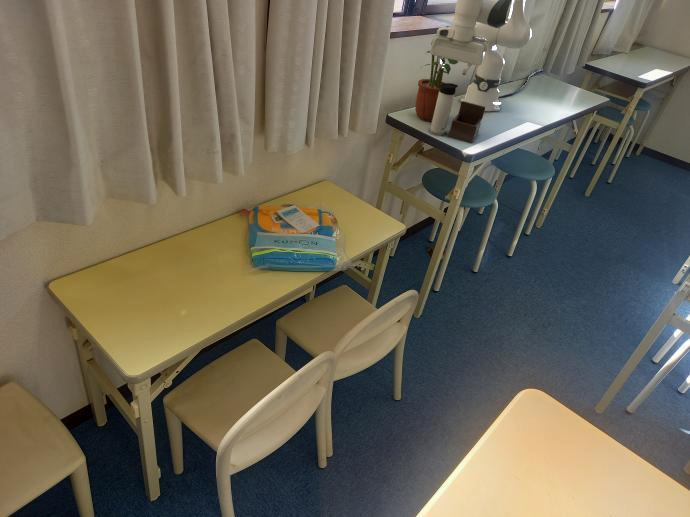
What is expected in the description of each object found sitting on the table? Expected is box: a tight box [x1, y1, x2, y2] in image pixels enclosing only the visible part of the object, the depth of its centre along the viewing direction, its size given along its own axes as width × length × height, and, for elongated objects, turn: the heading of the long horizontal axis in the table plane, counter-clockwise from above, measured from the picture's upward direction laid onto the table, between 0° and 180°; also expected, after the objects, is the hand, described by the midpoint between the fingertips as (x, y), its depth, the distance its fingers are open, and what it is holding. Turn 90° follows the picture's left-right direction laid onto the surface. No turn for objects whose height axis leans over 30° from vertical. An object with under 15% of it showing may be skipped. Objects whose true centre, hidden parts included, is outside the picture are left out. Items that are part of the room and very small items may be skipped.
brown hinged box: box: [447, 101, 486, 144], centre depth 198 cm, size 11×10×12 cm
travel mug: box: [429, 82, 459, 136], centre depth 195 cm, size 6×7×20 cm
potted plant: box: [415, 34, 460, 122], centre depth 204 cm, size 17×16×35 cm
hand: (452, 71), depth 187 cm, fingers open, 8 cm apart
